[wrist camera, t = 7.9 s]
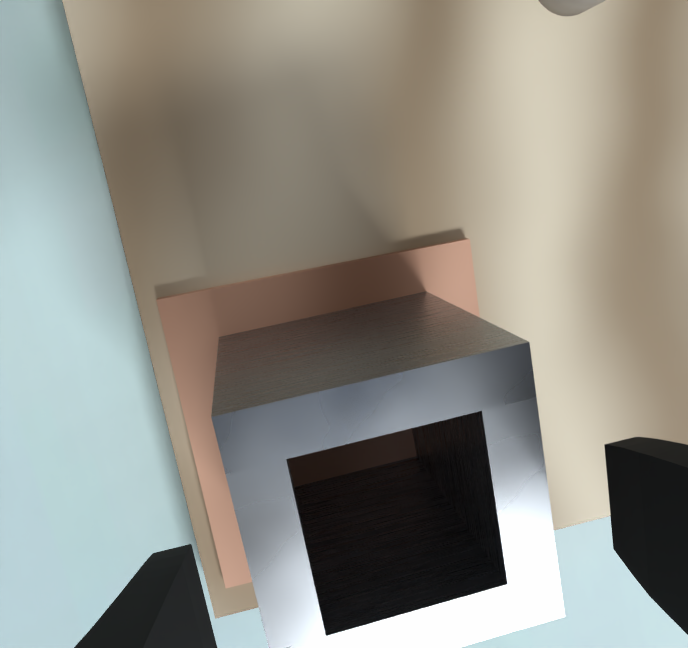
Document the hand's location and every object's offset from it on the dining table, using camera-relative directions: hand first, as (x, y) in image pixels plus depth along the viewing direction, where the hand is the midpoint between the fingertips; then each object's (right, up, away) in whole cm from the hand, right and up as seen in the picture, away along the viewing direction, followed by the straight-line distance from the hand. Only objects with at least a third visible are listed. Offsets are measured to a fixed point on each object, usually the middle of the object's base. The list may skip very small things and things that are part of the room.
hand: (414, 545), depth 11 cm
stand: (+1, +7, +7) cm, 10 cm away
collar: (-1, +1, +6) cm, 6 cm away
